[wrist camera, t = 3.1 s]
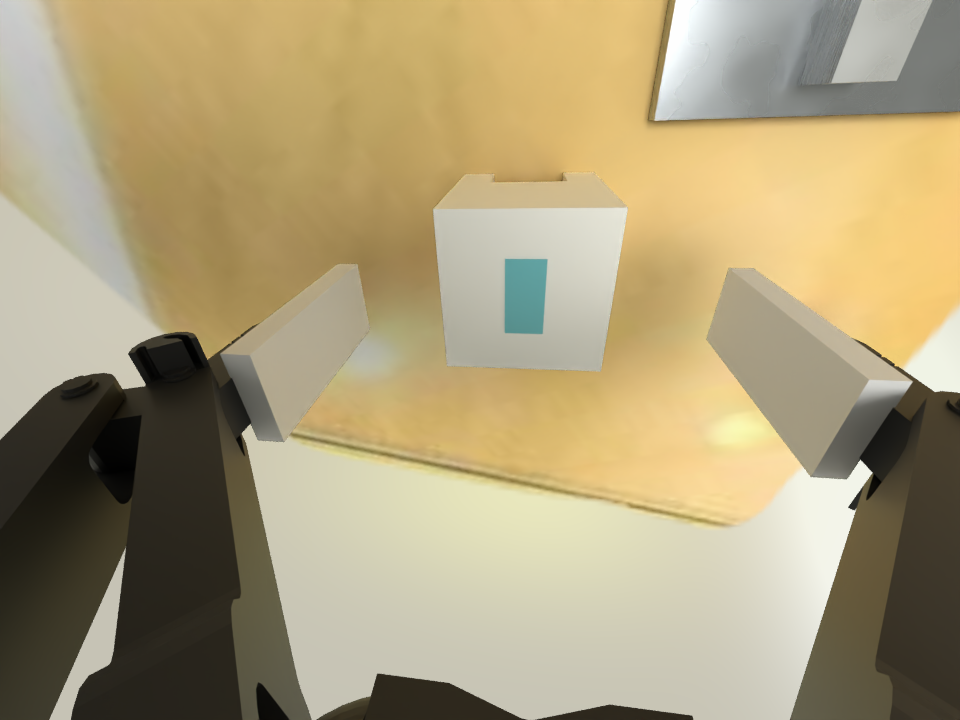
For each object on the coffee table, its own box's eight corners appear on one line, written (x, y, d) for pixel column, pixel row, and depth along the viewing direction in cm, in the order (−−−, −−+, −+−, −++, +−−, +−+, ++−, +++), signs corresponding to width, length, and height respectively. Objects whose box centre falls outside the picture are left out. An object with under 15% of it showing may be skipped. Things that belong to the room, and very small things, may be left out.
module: (470, 291, 22) (446, 366, 16) (465, 174, 19) (432, 209, 12) (580, 293, 21) (601, 371, 15) (594, 172, 18) (628, 208, 12)
